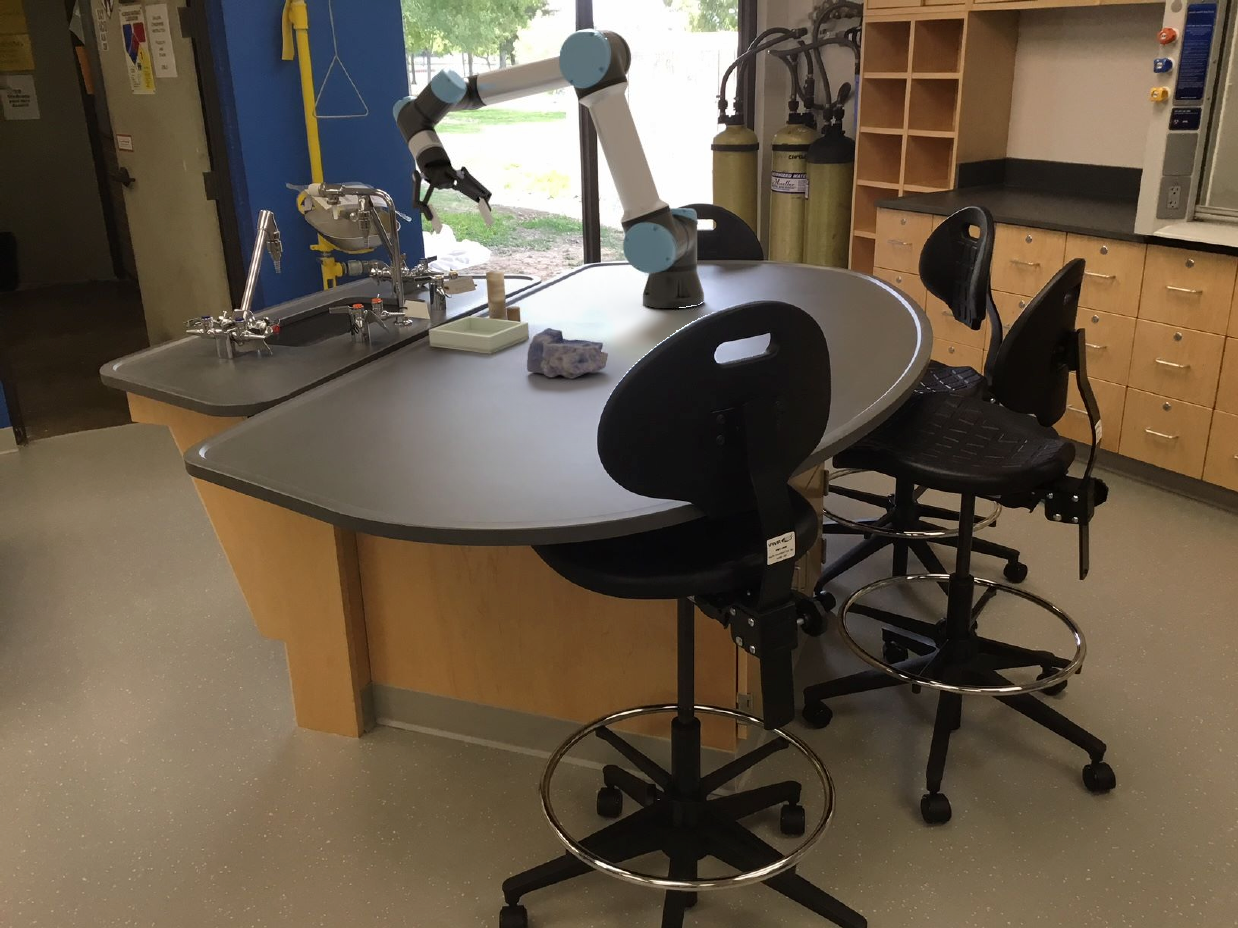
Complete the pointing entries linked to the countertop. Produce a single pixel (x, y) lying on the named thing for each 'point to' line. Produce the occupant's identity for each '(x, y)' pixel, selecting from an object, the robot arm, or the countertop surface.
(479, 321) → the tray
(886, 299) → the countertop surface
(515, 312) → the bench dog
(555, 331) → the mineral
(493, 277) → the dowel
